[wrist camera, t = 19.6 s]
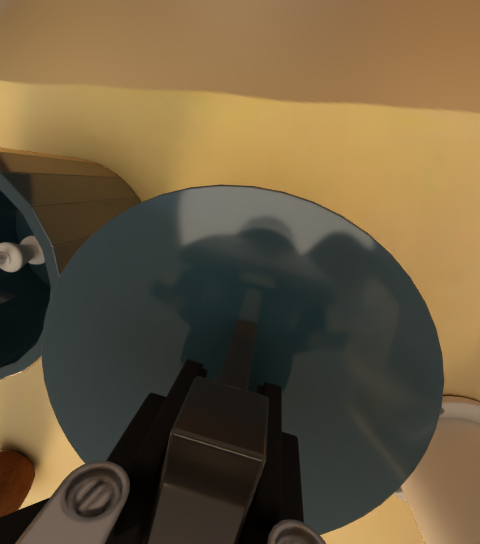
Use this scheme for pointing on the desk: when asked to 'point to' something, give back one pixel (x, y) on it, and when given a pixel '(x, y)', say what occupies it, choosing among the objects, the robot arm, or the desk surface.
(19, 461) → the wooden figurine
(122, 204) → the pot
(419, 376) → the lid
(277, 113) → the desk surface
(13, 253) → the chess piece
